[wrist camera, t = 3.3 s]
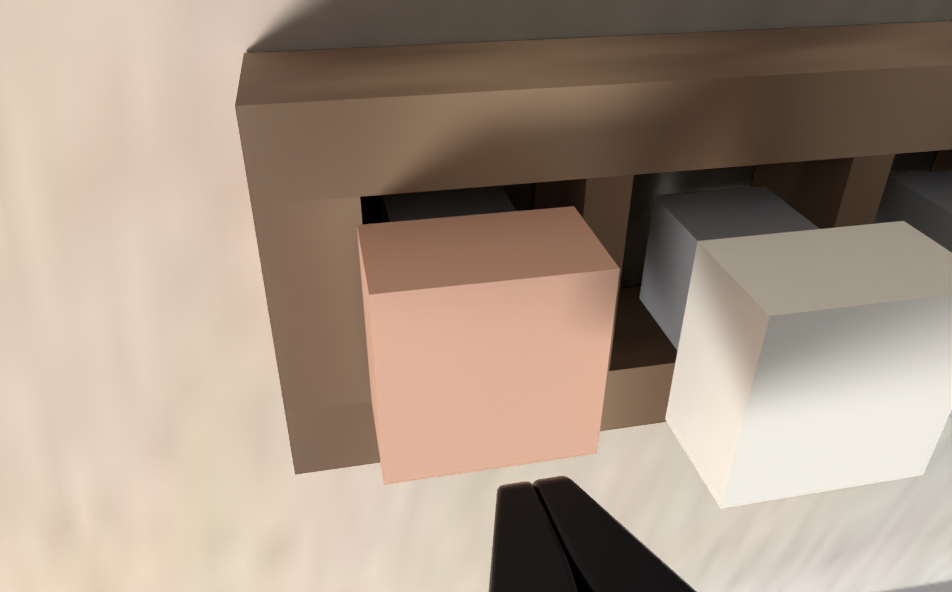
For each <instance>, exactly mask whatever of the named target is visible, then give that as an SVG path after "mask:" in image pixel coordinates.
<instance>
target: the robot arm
mask: <svg viewBox="0 0 952 592" xmlns="http://www.w3.org/2000/svg"><path fill="white" fill-rule="evenodd" d="M489 592H696V591H695V590H694V589H693V588H692V587H691V586H690V585H688V584H687V583H686V582H685V581H684V580H683V579H682V578H681V577H680V576H678V575H677V574H676V573H675V572H674V571H673V570H672V569H671V568H669V567H668V566H667V565H666V564H665V563H664V562H663V561H662V560H661V559H659V558H658V557H657V556H656V555H655V554H654V553H653V552H652V551H650V550H649V549H648V548H647V547H646V546H645V545H644V544H643V543H642V542H640V541H639V540H638V539H637V538H636V537H635V536H634V535H633V534H631V533H630V532H629V531H628V530H627V529H626V528H625V527H624V526H623V525H621V524H620V523H619V522H618V521H617V520H616V519H615V518H614V517H612V516H611V515H610V514H609V513H608V512H607V511H606V510H605V509H603V508H602V507H601V506H600V505H599V504H598V503H597V502H596V501H595V500H593V499H592V498H591V497H590V496H589V495H588V494H587V493H586V492H584V491H583V490H582V489H581V488H580V487H579V486H578V485H577V484H576V483H574V482H573V481H572V480H571V479H570V478H568V477H565V476H559V477H552V478H546V479H539V480H536V481H535V482H534V483H533V485H532V484H531V483H530V482H520V483H513V484H507V485H502V486H500V487H499V488H498V490H497V499H496V511H495V523H494V535H493V547H492V559H491V571H490V583H489Z"/></svg>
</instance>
